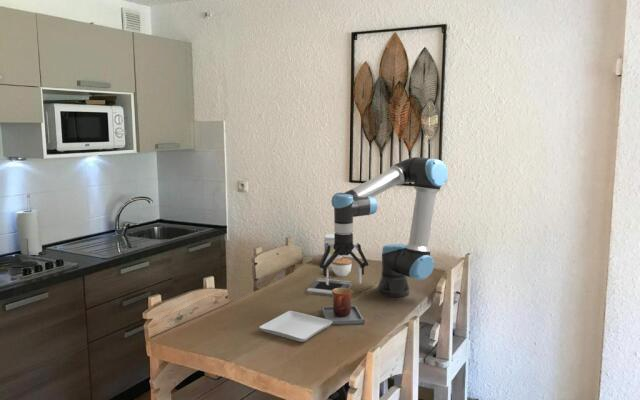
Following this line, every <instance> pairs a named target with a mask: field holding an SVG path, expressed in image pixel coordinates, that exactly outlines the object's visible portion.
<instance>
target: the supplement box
mask: <svg viewBox="0 0 640 400" xmlns="http://www.w3.org/2000/svg"><path fill="white" fill-rule="evenodd" d="M334 234H335V233H326V235H325V236H324V237H323V238H324V240H323V241H324V242H323V243H324V244H323V245H324V246H323V254H324V253H325V251H326V247H327V244H329V245H334ZM334 251H335V250H334V248H332V250H331V251H330V252H329V255H328V257H327V259H326V261H325V263H326V262H327V260H328V259H329V258H330V257H331V256H332V254H333V253H334ZM341 257H343V256H340V255H338V256H337V257H336V258H341ZM336 258H335V259H336ZM325 263H324V264H325ZM328 268H332V263H331V264H330V265H329V266H328Z"/></svg>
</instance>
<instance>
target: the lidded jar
mask: <svg viewBox="0 0 640 400" xmlns="http://www.w3.org/2000/svg"><path fill="white" fill-rule="evenodd" d="M352 263H353V260H352V259H350V258H346V257H345V258H344V257H343V256H342V257H341V258H336V259H334V260H333V262H332V267H331V271H332V272H333V274H335V276H337V277H347V276H348V275H349V274H350V272H351V270H352V265H353V264H352Z"/></svg>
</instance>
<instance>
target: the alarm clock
mask: <svg viewBox="0 0 640 400" xmlns="http://www.w3.org/2000/svg"><path fill="white" fill-rule="evenodd" d="M335 288H348V289H351V288H352V281H350V280H349V281H348V280H338V279H330V278H329V285H327V284H326V278H321V277H319V278H318V277H317V279H316V280H315V281H314V282H313V283H312V284H311V285H310V286H309V287H308V288H307V290H306V293H307V294H310V295H311V294H312V295H316V296H317V295H318V296H326V297H333V294H332V290H333V289H335Z"/></svg>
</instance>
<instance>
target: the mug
mask: <svg viewBox="0 0 640 400" xmlns="http://www.w3.org/2000/svg"><path fill="white" fill-rule="evenodd" d="M332 294H333V296H332V298H333V300H332V301H333V302H332V306H333V313H334V315H336V316H338V317H346V316H348V315H350V312H351V306H352V295H353V289H351V288H349V289H348V288H335V289H333V290H332Z"/></svg>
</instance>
